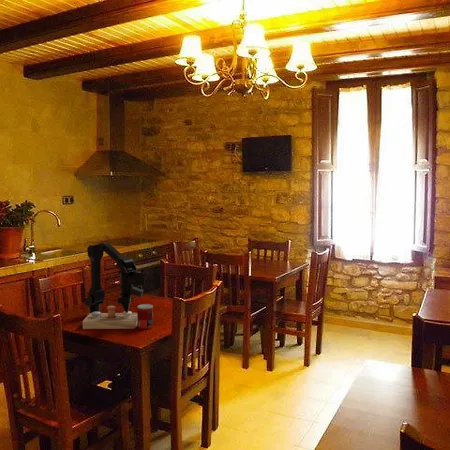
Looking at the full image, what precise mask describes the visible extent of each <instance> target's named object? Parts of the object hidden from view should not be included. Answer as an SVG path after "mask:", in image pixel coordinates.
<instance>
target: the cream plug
mask: <svg viewBox="0 0 450 450" xmlns="http://www.w3.org/2000/svg"><path fill="white" fill-rule="evenodd" d="M122 313H123V315H124V318H131V314H132V313H133V312H132V311H130V310H128V313H126V312H125V311H122Z"/></svg>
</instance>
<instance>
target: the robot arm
mask: <svg viewBox="0 0 450 450" xmlns="http://www.w3.org/2000/svg"><path fill="white" fill-rule="evenodd" d="M86 249H87V250H86V251H87V252H86V253H87V257H88V259H89V260H90V273H91V275H90V277H91V278H90V279H91V280H90V281H91V282H90V283H91V286H90V288H89V290H88V296H87V298H86V299H85V300H84V305H85V306H87V307H88V314H87V316H88V315H89V314H90V313H92V312H96V311H98V312H101V311H100V310H101V309H100V305H101V304H104V300H105V298H106V294H105V293H106V291H105V289H103V287H102V280H101V279H102V278H101V271H102V270H101V262H102V261H101V260H102V258H103V257H104V253H105V254H107V255H108V257H110V258H111V259H112V260H114V261H115V264H116V265H115V266H116V267H117V268H118V269H119V270H118V271H117V274H118V275H119V274H120V285H119V288H120V293H119V296H118V298H117V304H121V305H122V307H123V309H124V312H126V313H128V311H130V310H129V309H130V306H131V305H130V304H131V302H132V301H133V300H134V297H138V298H142V296H143V292H144V289H143V286H142V285H143V284H144V282H145V277H144V274H142V272H141V271H139V270H138V267H137V265H136V264H135V261H134V260H133V258H131V257H130V256H127V255H124V254H122V253H121V251H119V250H118V249H116V248H115V247H114V246H113V245H112V244H111V243H110V242H108V241H105V242H104V241H103V242H100V243H98V244H97V243H96V244H90V245H88V247H87V248H86ZM134 285H136V286H134ZM132 296H133V297H132Z"/></svg>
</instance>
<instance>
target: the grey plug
mask: <svg viewBox="0 0 450 450" xmlns="http://www.w3.org/2000/svg"><path fill="white" fill-rule="evenodd" d="M101 313H102V312H101V311H100V312H98V311H96V312H92V313H91V315H92V318H100V314H101Z"/></svg>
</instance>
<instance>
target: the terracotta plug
mask: <svg viewBox="0 0 450 450" xmlns="http://www.w3.org/2000/svg"><path fill="white" fill-rule="evenodd" d="M106 309H107V313H108V318H115V313H116V309H117V306H116V305H108V306H107V307H106Z"/></svg>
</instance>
